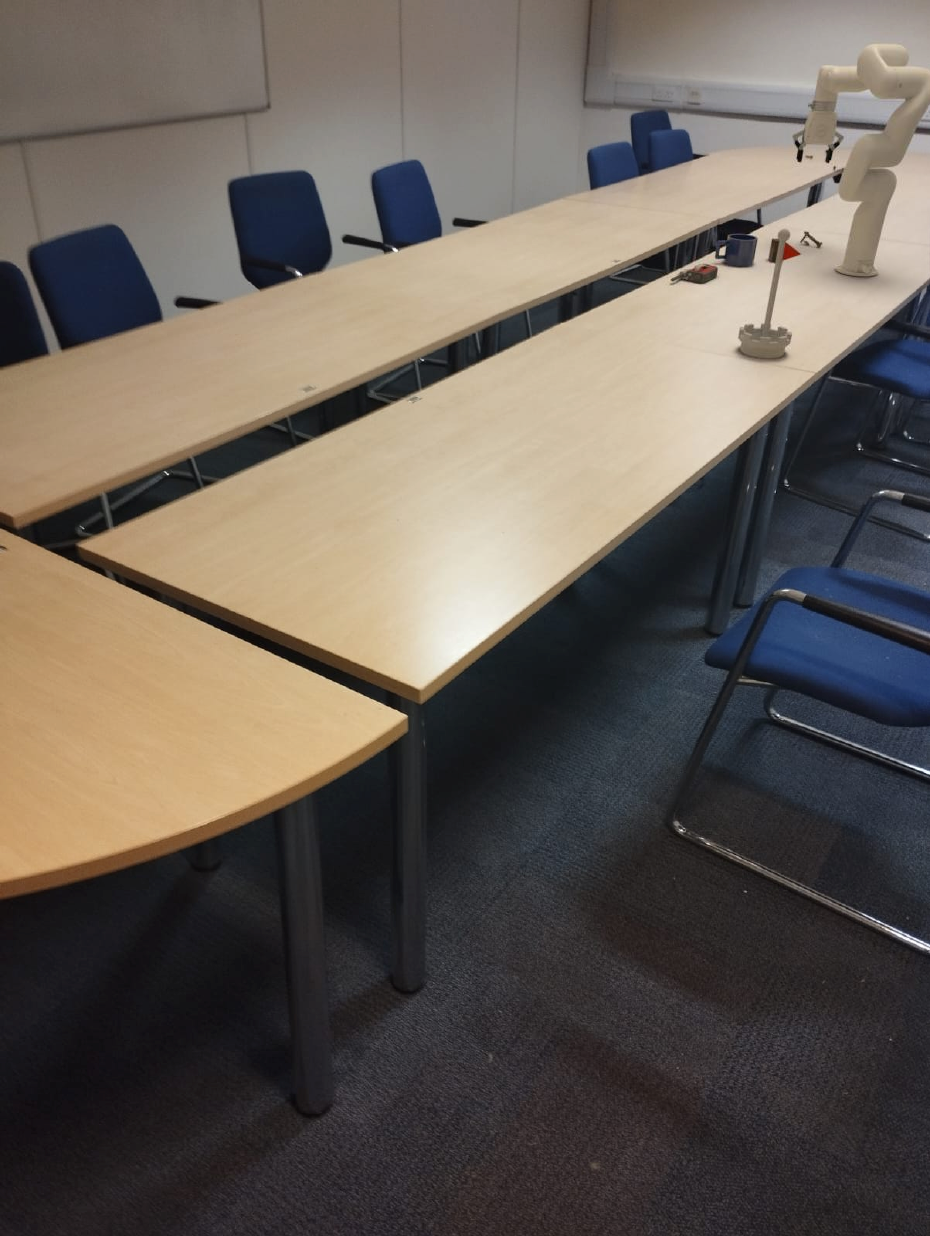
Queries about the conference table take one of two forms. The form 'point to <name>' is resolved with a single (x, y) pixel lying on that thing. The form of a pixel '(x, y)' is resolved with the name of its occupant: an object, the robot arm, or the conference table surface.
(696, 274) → the walkie-talkie
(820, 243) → the wooden post with brackets
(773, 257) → the walnut peg
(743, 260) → the mug
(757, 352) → the flag stand
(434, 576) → the conference table surface
